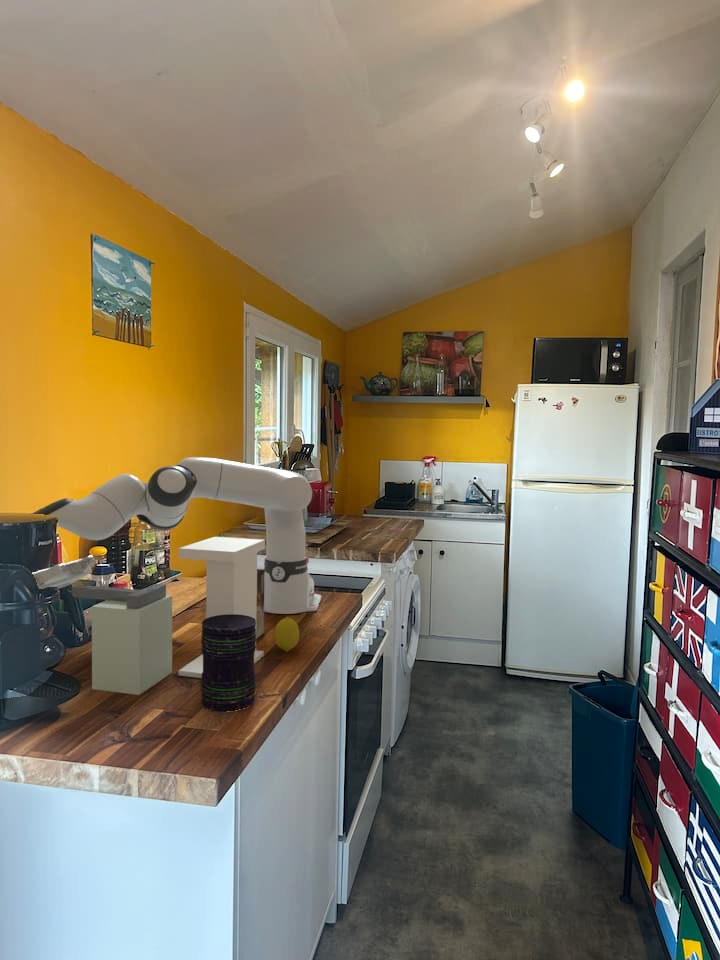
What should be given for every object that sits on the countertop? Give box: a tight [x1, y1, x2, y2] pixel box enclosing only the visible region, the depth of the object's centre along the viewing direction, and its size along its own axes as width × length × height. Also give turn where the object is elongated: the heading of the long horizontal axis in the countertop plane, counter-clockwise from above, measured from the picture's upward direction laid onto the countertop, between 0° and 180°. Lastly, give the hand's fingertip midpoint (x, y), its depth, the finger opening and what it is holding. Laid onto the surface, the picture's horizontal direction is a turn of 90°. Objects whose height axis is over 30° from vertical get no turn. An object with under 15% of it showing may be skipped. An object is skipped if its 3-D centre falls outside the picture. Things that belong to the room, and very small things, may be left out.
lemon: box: [274, 616, 300, 653], centre depth 147 cm, size 6×6×8 cm
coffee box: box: [256, 568, 265, 640], centre depth 156 cm, size 9×6×16 cm
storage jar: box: [200, 614, 257, 713], centre depth 118 cm, size 10×10×15 cm
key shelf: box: [177, 536, 266, 679], centre depth 137 cm, size 16×12×26 cm
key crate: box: [91, 594, 173, 696], centre depth 127 cm, size 12×10×16 cm
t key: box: [71, 583, 167, 609], centre depth 128 cm, size 10×17×2 cm, turn 77°
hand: (77, 562), depth 131 cm, fingers open, 8 cm apart
